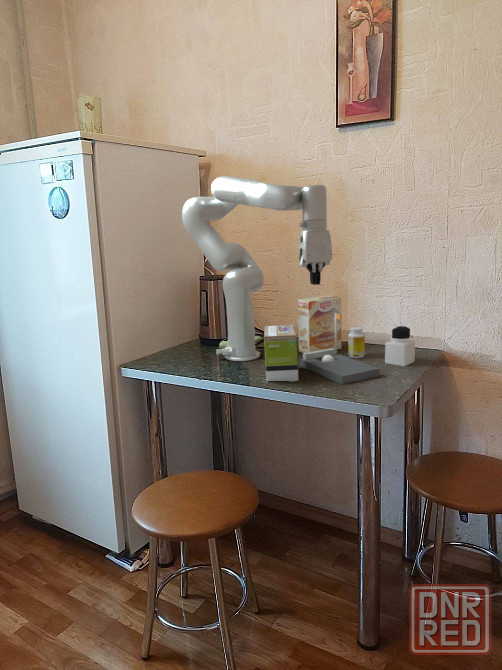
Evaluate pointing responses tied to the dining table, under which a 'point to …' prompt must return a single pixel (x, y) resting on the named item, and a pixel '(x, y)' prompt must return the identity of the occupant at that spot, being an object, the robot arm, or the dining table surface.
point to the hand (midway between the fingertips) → (315, 284)
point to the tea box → (281, 353)
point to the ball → (327, 358)
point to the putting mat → (338, 364)
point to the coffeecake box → (318, 323)
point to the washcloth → (224, 343)
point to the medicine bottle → (400, 347)
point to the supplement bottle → (356, 343)
